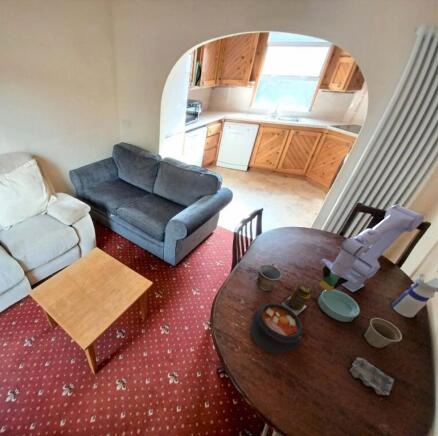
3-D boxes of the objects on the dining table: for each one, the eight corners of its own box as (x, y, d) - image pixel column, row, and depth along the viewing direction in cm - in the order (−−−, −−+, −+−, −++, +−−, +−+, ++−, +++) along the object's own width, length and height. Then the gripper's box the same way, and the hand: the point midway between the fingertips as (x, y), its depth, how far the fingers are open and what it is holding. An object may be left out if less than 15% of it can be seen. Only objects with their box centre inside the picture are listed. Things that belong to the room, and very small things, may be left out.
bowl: (330, 291, 116) (334, 285, 113) (361, 315, 105) (367, 309, 102) (310, 301, 111) (314, 295, 108) (341, 327, 100) (346, 321, 98)
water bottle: (389, 298, 112) (423, 260, 98) (413, 307, 108) (453, 269, 94) (390, 310, 107) (428, 273, 92) (416, 320, 102) (459, 283, 88)
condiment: (306, 306, 109) (317, 289, 102) (296, 315, 105) (306, 299, 98) (291, 295, 114) (300, 279, 107) (281, 304, 110) (289, 287, 103)
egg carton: (346, 372, 86) (352, 367, 84) (354, 359, 90) (359, 353, 88) (383, 400, 79) (390, 395, 77) (390, 384, 83) (396, 379, 81)
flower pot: (391, 357, 90) (405, 345, 85) (361, 345, 94) (372, 333, 89) (385, 336, 97) (398, 324, 92) (357, 325, 101) (368, 314, 96)
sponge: (328, 279, 113) (332, 273, 110) (338, 286, 109) (342, 280, 107) (318, 284, 110) (322, 278, 108) (328, 291, 107) (332, 285, 104)
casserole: (281, 369, 87) (289, 358, 82) (238, 331, 99) (242, 320, 94) (310, 329, 100) (318, 317, 95) (269, 299, 112) (274, 288, 107)
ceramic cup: (272, 297, 113) (278, 283, 107) (251, 286, 118) (256, 273, 112) (278, 280, 122) (285, 266, 116) (258, 271, 127) (264, 257, 121)
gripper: (321, 254, 105) (309, 275, 113) (355, 277, 95) (340, 298, 102) (331, 250, 108) (319, 270, 116) (366, 272, 97) (350, 293, 105)
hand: (329, 283), depth 109 cm, fingers closed on sponge, 4 cm apart
